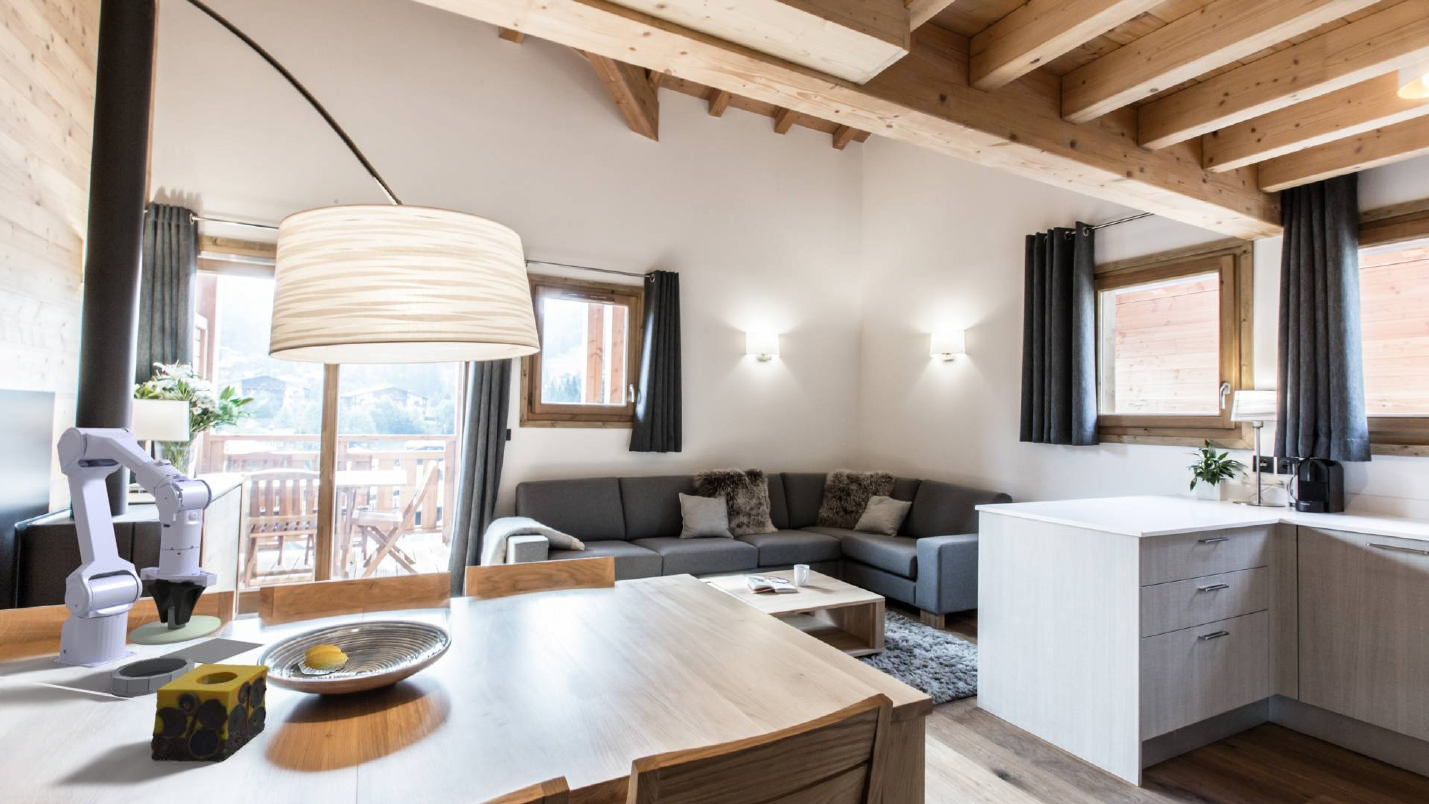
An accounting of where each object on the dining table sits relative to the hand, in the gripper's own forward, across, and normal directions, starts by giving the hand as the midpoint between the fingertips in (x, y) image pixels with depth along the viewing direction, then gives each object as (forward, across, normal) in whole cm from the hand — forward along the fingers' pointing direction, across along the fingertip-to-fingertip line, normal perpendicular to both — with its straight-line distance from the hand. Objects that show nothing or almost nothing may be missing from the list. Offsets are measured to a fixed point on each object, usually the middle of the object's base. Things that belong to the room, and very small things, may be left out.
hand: (175, 622), depth 123 cm
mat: (+9, +4, -12) cm, 16 cm away
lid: (+2, 0, 0) cm, 2 cm away
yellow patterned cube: (+10, -29, +19) cm, 36 cm away
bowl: (+10, -1, +4) cm, 10 cm away
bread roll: (+10, -21, -12) cm, 26 cm away
